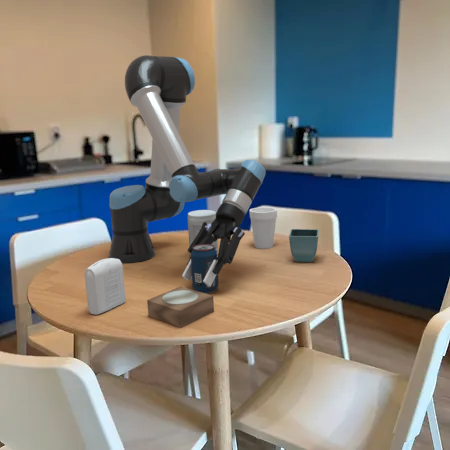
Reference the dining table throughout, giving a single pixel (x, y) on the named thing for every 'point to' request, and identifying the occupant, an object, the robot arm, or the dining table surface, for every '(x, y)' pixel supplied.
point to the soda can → (203, 267)
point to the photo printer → (104, 285)
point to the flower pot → (303, 244)
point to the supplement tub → (200, 224)
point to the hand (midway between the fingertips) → (196, 281)
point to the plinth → (180, 306)
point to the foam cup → (263, 226)
